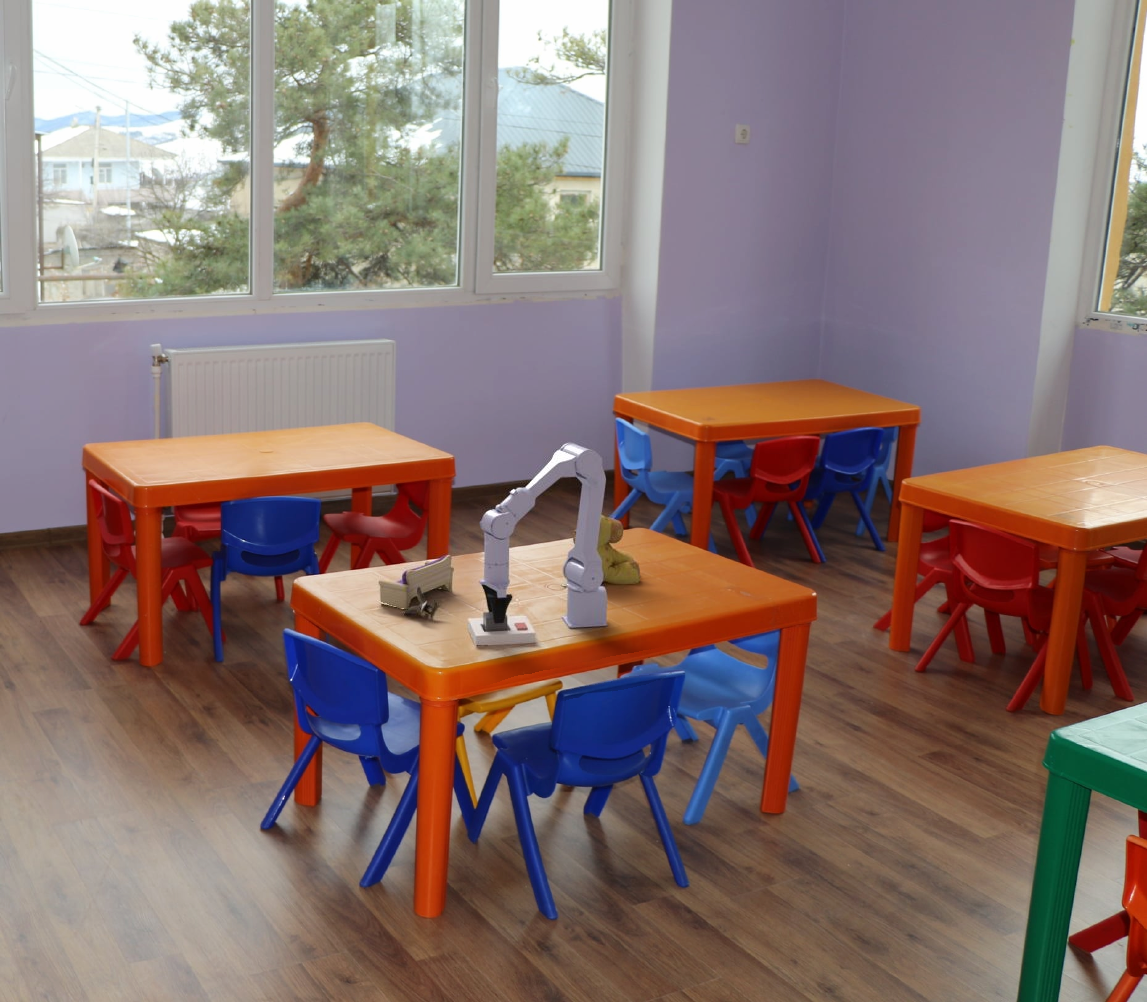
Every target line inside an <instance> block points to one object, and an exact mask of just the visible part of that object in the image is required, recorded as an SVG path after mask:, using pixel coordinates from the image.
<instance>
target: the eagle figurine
mask: <svg viewBox="0 0 1147 1002" xmlns="http://www.w3.org/2000/svg"><path fill="white" fill-rule="evenodd" d="M421 592H422V591H421V588H420V587H418V588H417V596H416V597H417V600H418V602H419V603H420V604H419V605H414V606H411V607H409V609H408V610H405V611H404V612H405V613H404V612H403V615H407V614H416V613H418V612H420V613H421V612H424V613H426V614H427V615H429V617H430V620H433V619H434V615H435V613H436V611H437V610H438V609H439V607H440V606H441V605H442V604H443V603H444V600H445V598H443V599H442V600H441V601H440V602H439V603H438V601H437V600H435V601H434V602H433V605H430V604H428V600H427V598H426V596H425V593H421Z"/></svg>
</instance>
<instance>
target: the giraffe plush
mask: <svg viewBox="0 0 1147 1002" xmlns="http://www.w3.org/2000/svg"><path fill="white" fill-rule="evenodd" d="M576 530H577V527H576V529H574V530H573V536H574V537H573V538H572V540H573V542H572V543H573V545H575V538H576ZM623 536H624V526H623V523H622V522H621V521H620V520H618V519H615V518H613V517H609V516H608V517H606V516H605V515H603V514H601V522H600V530H599V537H598V545H597V552H598V554H599V556H600V558H601V560H602V571H603V581H602V582H607V583H609V584H612V585H613V584H614V585H634V584H635V585H636V584H639V582H640V579H641V570H640V566H639V565H640V564H639V563H638V562H637V561H635V560H634V557H632V556H631V555H630V554H629V553H627V552H623V551H620V550H617V549H616V548H613V546H612V545H611V544H617V543H619V542H620V541H621V540H622V538H623ZM561 585H562V586H561V587H567V588H568V584H567V583H561ZM600 586H602V584H601V585H600Z"/></svg>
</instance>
